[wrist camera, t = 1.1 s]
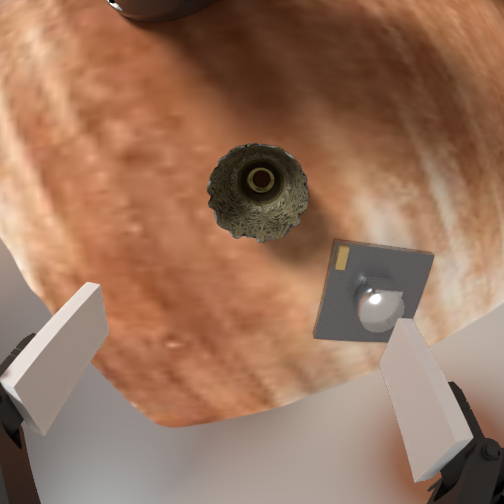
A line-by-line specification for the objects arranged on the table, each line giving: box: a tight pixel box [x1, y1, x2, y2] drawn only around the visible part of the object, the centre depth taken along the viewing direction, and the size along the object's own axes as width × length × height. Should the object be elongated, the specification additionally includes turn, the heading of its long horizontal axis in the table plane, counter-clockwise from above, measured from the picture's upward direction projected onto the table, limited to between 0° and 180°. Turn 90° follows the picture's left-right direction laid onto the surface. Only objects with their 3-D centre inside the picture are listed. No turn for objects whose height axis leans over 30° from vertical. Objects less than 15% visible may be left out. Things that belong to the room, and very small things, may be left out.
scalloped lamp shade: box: [207, 143, 309, 243], centre depth 25 cm, size 8×7×8 cm
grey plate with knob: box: [313, 239, 434, 342], centre depth 31 cm, size 12×12×4 cm
